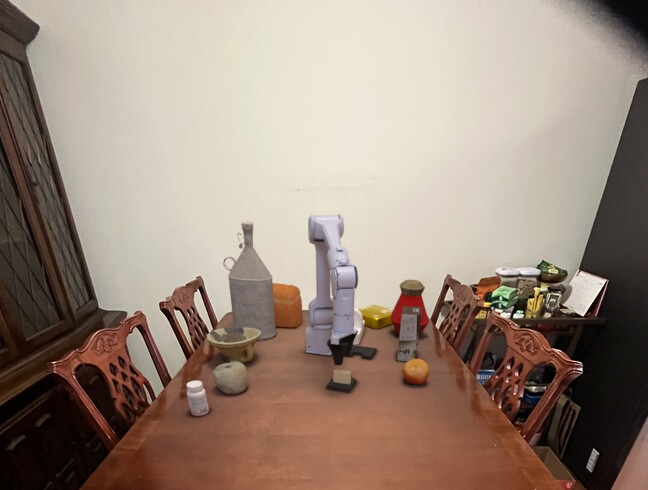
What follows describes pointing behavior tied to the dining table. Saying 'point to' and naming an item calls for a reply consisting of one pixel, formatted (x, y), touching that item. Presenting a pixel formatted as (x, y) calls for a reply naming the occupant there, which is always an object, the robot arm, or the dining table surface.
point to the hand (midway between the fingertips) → (342, 359)
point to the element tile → (376, 316)
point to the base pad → (363, 351)
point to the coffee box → (409, 333)
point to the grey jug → (251, 288)
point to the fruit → (415, 371)
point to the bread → (287, 305)
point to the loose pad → (341, 386)
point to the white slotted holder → (358, 325)
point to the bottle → (409, 303)
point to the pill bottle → (197, 398)
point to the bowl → (235, 342)
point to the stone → (231, 377)
